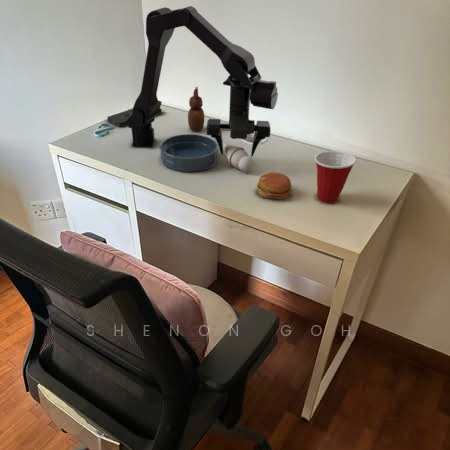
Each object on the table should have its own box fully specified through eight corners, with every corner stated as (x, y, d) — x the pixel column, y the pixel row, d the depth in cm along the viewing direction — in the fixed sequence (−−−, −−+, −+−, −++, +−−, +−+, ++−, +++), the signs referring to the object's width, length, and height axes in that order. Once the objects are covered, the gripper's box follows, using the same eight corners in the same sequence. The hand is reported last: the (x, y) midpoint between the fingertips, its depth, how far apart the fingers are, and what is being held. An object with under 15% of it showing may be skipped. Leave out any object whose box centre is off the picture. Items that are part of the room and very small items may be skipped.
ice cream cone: (220, 154, 136) (248, 179, 129) (209, 147, 131) (238, 172, 124) (231, 138, 134) (261, 163, 127) (221, 130, 129) (251, 155, 122)
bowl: (157, 171, 127) (156, 157, 123) (165, 146, 139) (164, 133, 136) (216, 173, 127) (216, 159, 124) (218, 148, 140) (218, 135, 136)
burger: (295, 198, 117) (298, 182, 114) (265, 203, 115) (266, 187, 112) (281, 181, 124) (282, 167, 121) (252, 186, 122) (253, 171, 119)
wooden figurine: (203, 133, 148) (203, 88, 138) (187, 133, 148) (186, 87, 138) (204, 126, 153) (204, 82, 143) (189, 125, 153) (187, 81, 142)
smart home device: (106, 116, 153) (148, 103, 164) (106, 121, 154) (148, 107, 165) (120, 122, 149) (162, 108, 160) (120, 127, 150) (162, 113, 161)
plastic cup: (319, 184, 124) (327, 144, 115) (352, 197, 119) (363, 156, 110) (300, 198, 117) (307, 157, 109) (334, 212, 113) (344, 170, 104)
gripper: (205, 112, 113) (205, 166, 124) (274, 114, 113) (268, 168, 124) (207, 98, 121) (207, 150, 132) (271, 100, 121) (266, 152, 132)
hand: (237, 155), depth 130 cm, fingers open, 9 cm apart
